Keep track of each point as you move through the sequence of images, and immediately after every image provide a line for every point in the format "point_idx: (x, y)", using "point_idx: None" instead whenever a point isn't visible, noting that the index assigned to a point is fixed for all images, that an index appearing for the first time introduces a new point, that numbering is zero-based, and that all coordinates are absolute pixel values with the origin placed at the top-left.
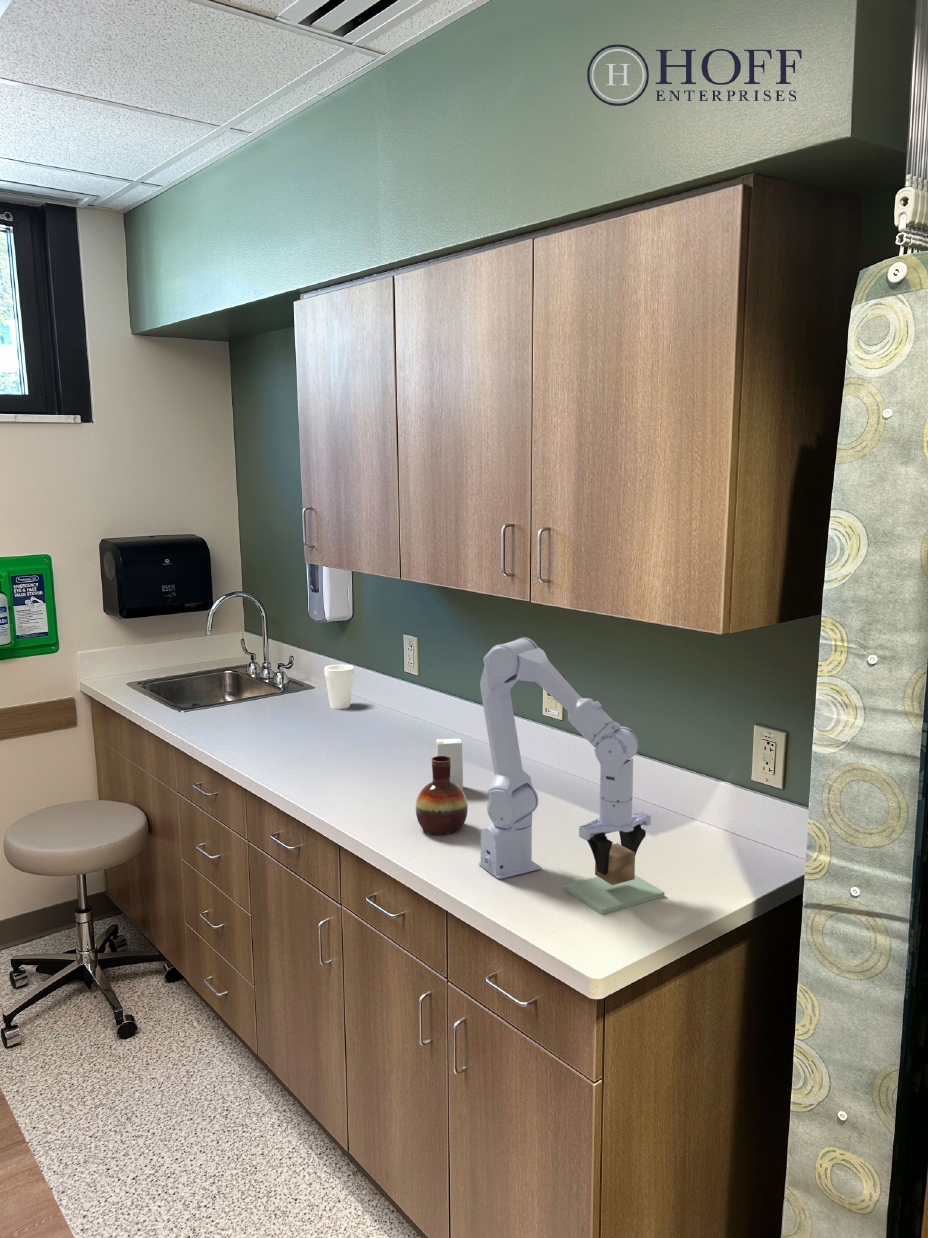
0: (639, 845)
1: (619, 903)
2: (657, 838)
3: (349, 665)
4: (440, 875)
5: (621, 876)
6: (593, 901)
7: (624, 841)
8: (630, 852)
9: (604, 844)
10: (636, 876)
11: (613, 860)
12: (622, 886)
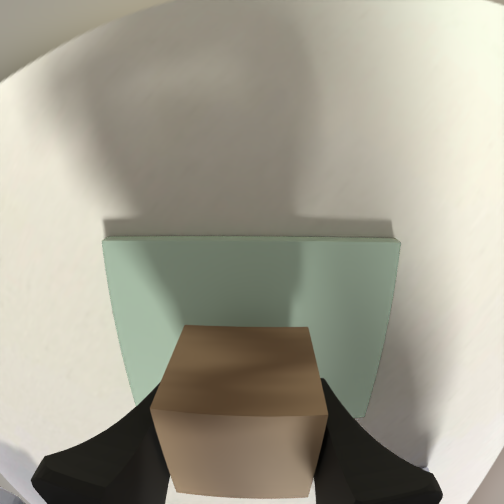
0: (99, 434)
1: (312, 250)
2: (21, 442)
3: None
4: (467, 483)
5: (256, 343)
6: (378, 306)
7: (157, 488)
8: (173, 423)
9: (428, 486)
10: (129, 370)
11: (319, 405)
12: None
